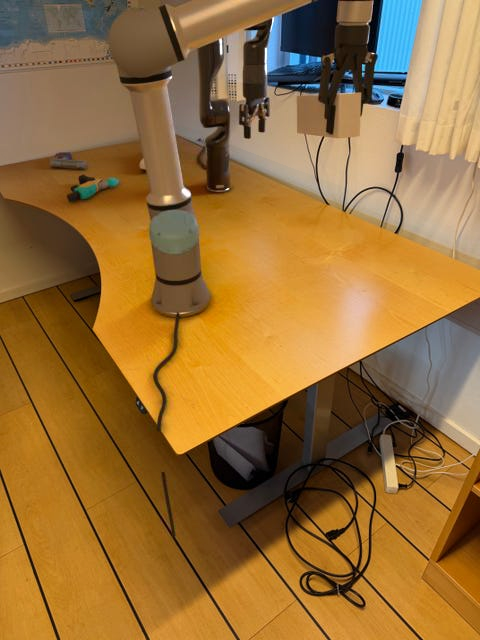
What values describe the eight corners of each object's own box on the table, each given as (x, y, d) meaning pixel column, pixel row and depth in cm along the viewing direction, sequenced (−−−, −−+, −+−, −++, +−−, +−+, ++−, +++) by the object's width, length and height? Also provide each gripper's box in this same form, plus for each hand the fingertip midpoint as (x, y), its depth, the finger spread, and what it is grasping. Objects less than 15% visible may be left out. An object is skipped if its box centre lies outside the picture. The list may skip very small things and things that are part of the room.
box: (359, 136, 117) (361, 92, 113) (338, 138, 116) (339, 94, 112) (315, 131, 139) (315, 94, 135) (297, 133, 138) (296, 95, 134)
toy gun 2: (44, 189, 181) (74, 196, 175) (91, 169, 199) (119, 175, 193) (47, 200, 183) (76, 207, 178) (93, 180, 202) (121, 186, 196)
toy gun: (98, 160, 223) (83, 171, 211) (61, 158, 226) (45, 169, 214) (96, 152, 220) (81, 162, 208) (59, 150, 223) (43, 160, 212)
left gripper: (381, 21, 111) (367, 125, 125) (307, 24, 107) (300, 131, 120) (399, 23, 105) (382, 132, 119) (321, 26, 101) (313, 139, 114)
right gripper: (257, 75, 151) (256, 128, 160) (231, 82, 141) (232, 138, 151) (277, 77, 147) (275, 131, 157) (252, 85, 138) (252, 142, 147)
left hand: (341, 131), depth 119 cm, fingers closed on box, 6 cm apart
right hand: (254, 135), depth 154 cm, fingers open, 8 cm apart
